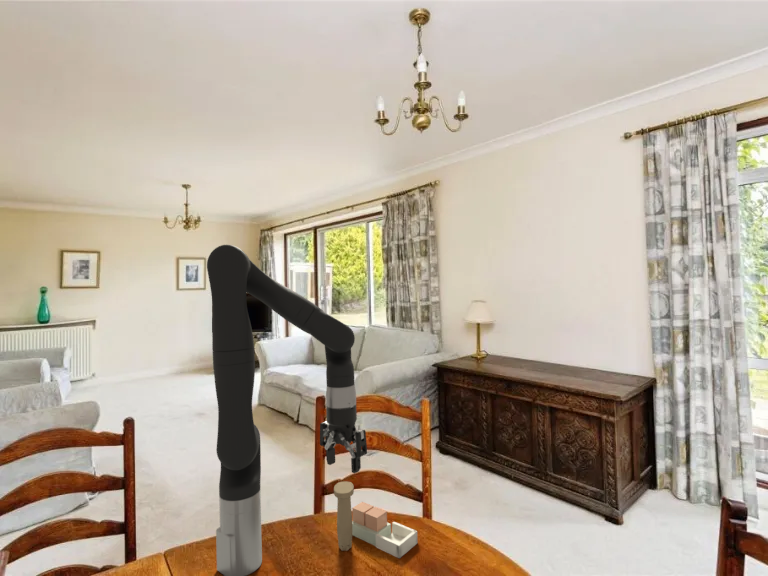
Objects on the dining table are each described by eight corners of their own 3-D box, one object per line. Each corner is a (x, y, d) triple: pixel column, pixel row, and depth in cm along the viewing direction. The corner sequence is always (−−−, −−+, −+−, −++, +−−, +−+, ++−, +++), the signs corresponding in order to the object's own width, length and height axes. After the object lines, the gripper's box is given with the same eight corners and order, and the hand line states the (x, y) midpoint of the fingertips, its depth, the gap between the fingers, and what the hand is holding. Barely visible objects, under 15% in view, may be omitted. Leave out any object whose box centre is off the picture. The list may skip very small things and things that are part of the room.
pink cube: (363, 526, 107) (363, 512, 107) (352, 521, 110) (352, 507, 110) (373, 519, 111) (373, 506, 111) (362, 514, 113) (362, 501, 113)
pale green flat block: (376, 546, 103) (376, 534, 104) (350, 534, 109) (350, 522, 109) (391, 535, 108) (390, 523, 108) (365, 524, 114) (365, 513, 114)
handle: (334, 556, 100) (332, 493, 100) (336, 540, 107) (335, 481, 107) (354, 555, 100) (352, 493, 100) (355, 539, 107) (354, 481, 107)
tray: (399, 558, 99) (399, 545, 99) (375, 547, 103) (375, 535, 103) (417, 543, 104) (417, 531, 105) (394, 533, 109) (394, 521, 109)
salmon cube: (377, 531, 105) (376, 518, 105) (365, 526, 107) (365, 513, 107) (387, 524, 108) (386, 511, 108) (375, 519, 110) (375, 506, 110)
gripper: (310, 402, 105) (312, 466, 105) (351, 410, 96) (353, 480, 96) (332, 396, 111) (334, 456, 111) (372, 403, 102) (374, 469, 102)
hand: (343, 467), depth 104 cm, fingers open, 8 cm apart
